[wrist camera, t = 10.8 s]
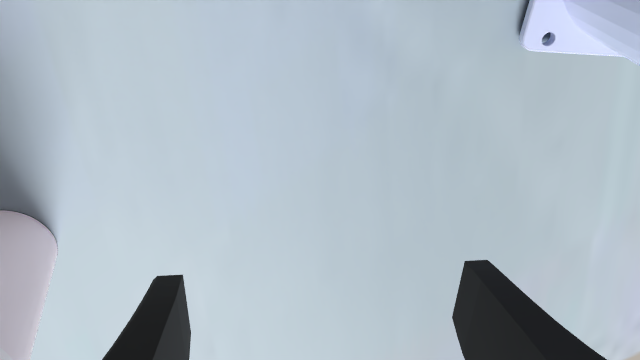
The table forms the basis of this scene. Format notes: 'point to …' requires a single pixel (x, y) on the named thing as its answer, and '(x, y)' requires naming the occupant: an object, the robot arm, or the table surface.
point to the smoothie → (23, 281)
